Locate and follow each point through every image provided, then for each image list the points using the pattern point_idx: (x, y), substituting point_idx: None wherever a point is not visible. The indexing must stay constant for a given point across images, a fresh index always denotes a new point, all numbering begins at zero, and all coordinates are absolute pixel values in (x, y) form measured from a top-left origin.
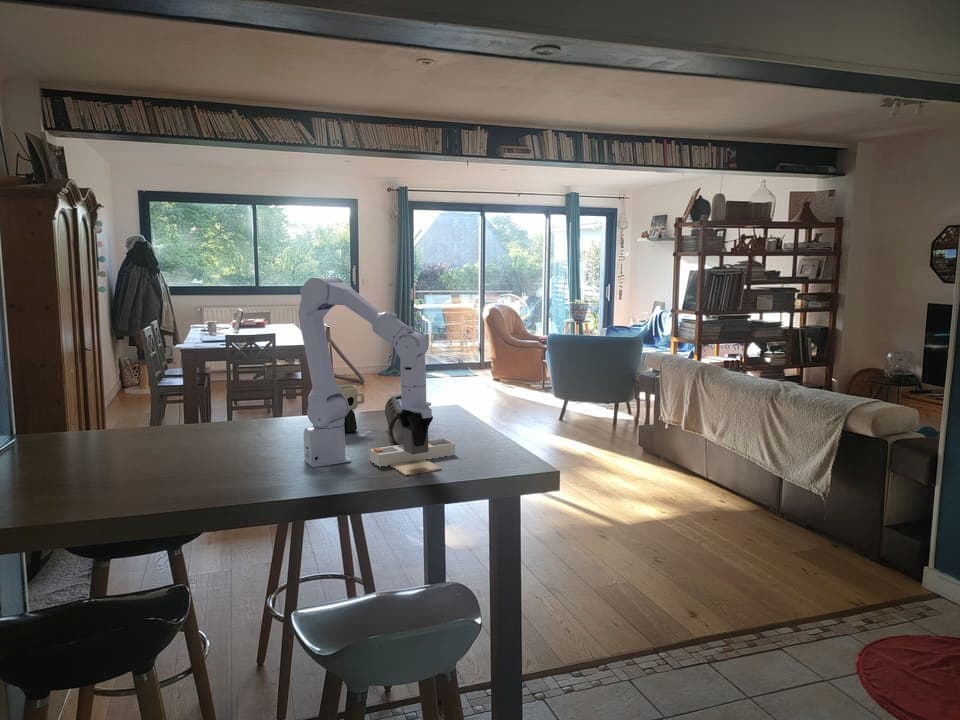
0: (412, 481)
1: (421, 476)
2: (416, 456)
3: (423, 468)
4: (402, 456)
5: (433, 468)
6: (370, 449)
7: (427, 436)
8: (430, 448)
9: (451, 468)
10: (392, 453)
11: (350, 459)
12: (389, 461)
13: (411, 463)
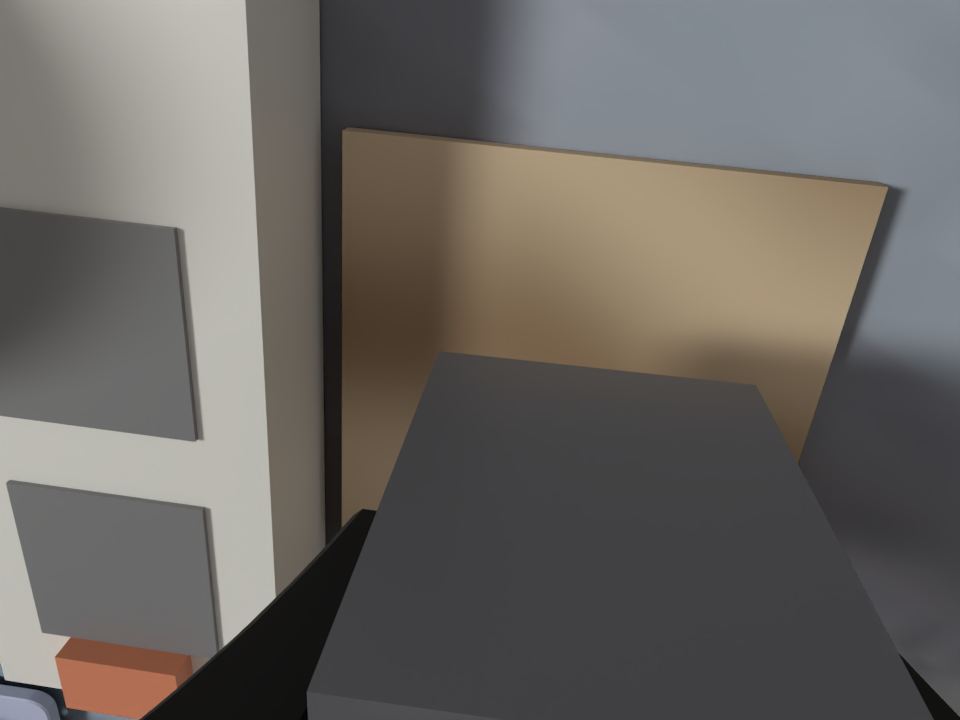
0: (942, 627)
1: (883, 493)
2: (299, 251)
3: (712, 373)
4: (296, 449)
5: (809, 281)
6: (19, 679)
7: (851, 589)
8: (258, 8)
9: (934, 16)
10: (276, 591)
11: (26, 704)
12: (310, 561)
13: (430, 369)
